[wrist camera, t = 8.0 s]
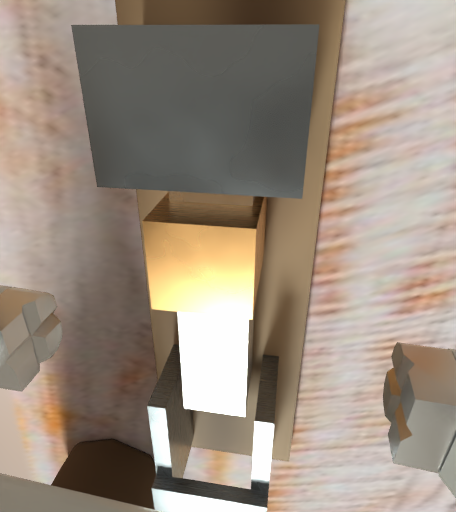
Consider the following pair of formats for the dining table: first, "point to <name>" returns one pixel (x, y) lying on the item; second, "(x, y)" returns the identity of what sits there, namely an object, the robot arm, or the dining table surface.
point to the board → (277, 220)
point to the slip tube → (209, 289)
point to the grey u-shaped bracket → (180, 440)
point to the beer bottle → (109, 472)
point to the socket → (199, 106)
